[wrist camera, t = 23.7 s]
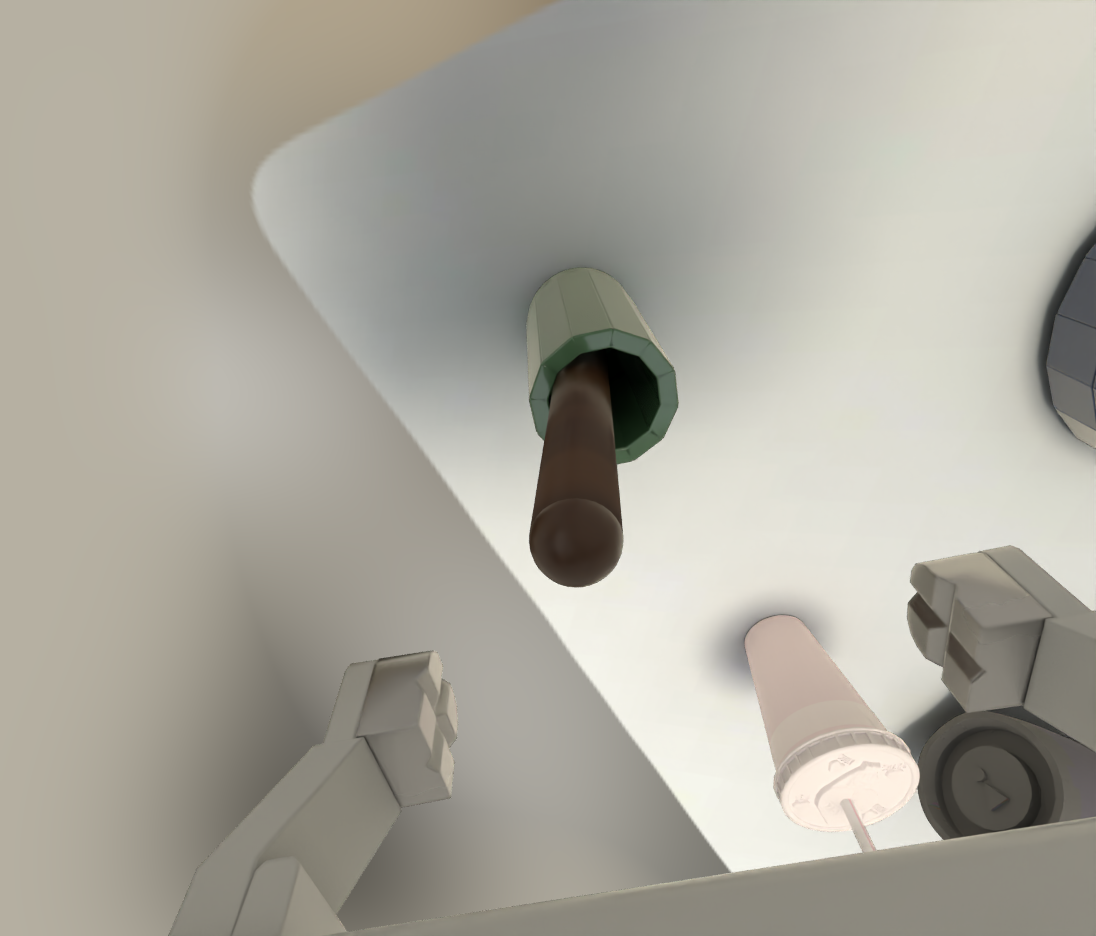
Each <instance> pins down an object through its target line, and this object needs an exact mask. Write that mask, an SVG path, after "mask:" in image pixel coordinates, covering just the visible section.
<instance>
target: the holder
mask: <svg viewBox="0 0 1096 936" xmlns="http://www.w3.org/2000/svg"><path fill="white" fill-rule="evenodd" d="M526 331H527V359H528V387H529V403H530V407H531V411H532V416H533V420H534V424H535V429H536V432H537V434H538V435H539V436H540V437H541V438H542V439H543V440H545V434H546V428H547V421H548V415H549V409H550V403H551V396H552V390H553V385H554V382H555V380H556V377H557V374H558V372H560V371H561V370H562V369H563V368H564V367H566V366H567V365H568V364H569V363H570V362H572V361H573V360H574V359H575V358H576V357H577V356H579V355H580V354H582V353H587V352H592V351H597V350H601V349H606V351H607V363H608V374H609V385H610V396H611V407H612V418H613V429H614V440H615V451H616V462H617V464H621V463H626V462H631V461H634V460H636V459H637V458H638V457H640V456H641V455H642V454H644V453H645V452H646V451H648V450H649V449H650V448H652V447H653V446H654V445H656V444H657V443H658V442H660V441H661V440H662V438H664V436H665V434H666V432H667V430H668V428H669V426H670V423H671V421H672V419H673V417H674V415H675V413H676V411H677V408H678V404H679V402H678V393H677V383H676V374H675V370H674V367H673V366H672V364H671V362H670V361H669V359H668V357H667V356H666V354H665V352H664V351H663V349H662V348H661V346H660V344H659V343H658V341H657V339H656V338H655V336H654V335H653V333H652V331H651V330H650V328H649V326H648V325H647V323H646V321H645V320H644V318H643V317H642V315H641V313H640V312H639V310H638V308H637V307H636V305H635V303H634V302H633V300H632V299H631V298H630V296H629V295H628V294H627V293H626V291H625V290H624V288H623V287H622V286H621V285H620V283H619V282H618V281H617V280H616V279H614V278H613V277H612V276H610V275H608V274H607V273H605V272H602V271H600V270H596V269H593V268H572V269H568V270H564V271H562V272H560V273H557V274H556V275H554V276H552V277H551V278H550V279H548V280H547V281H546V282H545V283H544V284H543V285H542V286H541V287H540V288H539V289H538V291H537V292H536V294H535V296H534V297H533V299H532V302H531V304H530V308H529V312H528V318H527V321H526Z"/></svg>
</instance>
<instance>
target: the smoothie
mask: <svg viewBox="0 0 1096 936" xmlns="http://www.w3.org/2000/svg"><path fill="white" fill-rule="evenodd" d="M744 644H745V650H746V654H747V658H748V662H749V666H750V670H751V674H752V678H753V682H754V686H755V690H756V694H757V697H758V701H759V705H760V709H761V713H762V717H763V721H764V725H765V729H766V733H767V737H768V741H769V745H770V750H771V754H772V758H773V762H774V765H775V769H776V773H775V775H774V786H773V788H774V790H775V793H776V795H777V798H778V799H779V801H780V803H781V806H782V809H783V811H784V813H785V814H786V816H787V817H788V818H789V819H790V820H791V821H793V822H794V823H796V824H798V825H800V826H802V827H805V828H808V829H811V830H816V831H823V832H840V831H849V830H853V832H854V834H855V837H856V839H857V841H858V843H859V845H860V847H861V849H862V852H863V853H864V852H870V851H876V848H875V846H874V844H873V842H872V840H871V838H870V836H869V834H868V832H867V830H866V828H865V827H866V826H869V825H872V824H874V823H877V822H879V821H881V820H883V819H885V818H887V817H889V816H890V815H892V814H894V813H895V812H896V811H898V810H899V809H900V808H902V807H903V806H904V805H905V804H906V803H907V802H908V801H909V800H910V799H911V797H912V796H913V794H914V793H915V791H916V789H917V786H918V783H919V779H920V772H919V768H918V765H917V764H916V762H915V760H914V759H913V757H912V756H911V753H910V749H909V748H908V746H907V745H906V744H905V742H904V741H903V740H902V739H901V738H899V737H898V736H896V735H894V734H893V733H891V732H888V731H887V730H886V729H885V727H884V726H883V725H882V723H881V722H880V721H879V719H878V718H877V717H876V715H875V714H874V713H873V712H872V711H871V709H870V708H869V707H868V705H867V704H866V703H865V702H864V700H863V699H862V698H861V696H860V695H859V694H858V693H857V691H856V690H855V689H854V687H853V686H852V685H851V684H850V682H849V681H848V680H847V678H846V677H845V676H844V675H843V673H842V672H841V671H840V669H839V668H838V667H837V666H836V664H835V663H834V662H833V660H832V659H831V658H830V657H829V655H828V654H827V653H826V651H825V650H824V649H823V648H822V646H821V645H820V644H819V642H818V641H817V640H816V639H815V637H814V636H813V635H812V633H811V632H810V631H809V630H808V628H807V627H806V626H805V624H804V623H803V622H802V621H801V620H799V619H797V618H795V617H792V616H788V615H777V616H772V617H768V618H766V619H763V620H761V621H760V622H758V623H757V624H755V625H754V626H753V627H752V628H751V629H750V630H749V632H748V633H747V635H746V638H745V643H744Z"/></svg>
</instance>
